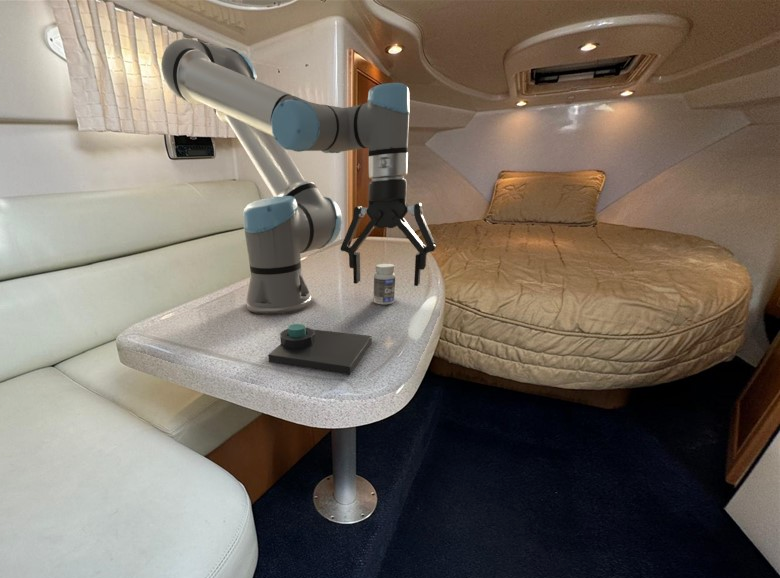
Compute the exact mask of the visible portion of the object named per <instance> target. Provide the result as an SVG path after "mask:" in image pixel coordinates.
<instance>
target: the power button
mask: <svg viewBox="0 0 780 578" xmlns="http://www.w3.org/2000/svg"><path fill="white" fill-rule="evenodd" d="M305 327H306V325H305V324H303V323H294V324H290V325H288V327H287V329H288V335H289V337H294V338H297V337H302V336H305V335H306V328H305Z"/></svg>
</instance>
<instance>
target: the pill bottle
mask: <svg viewBox="0 0 780 578" xmlns="http://www.w3.org/2000/svg"><path fill="white" fill-rule="evenodd" d="M394 272H395V265H394V264H393V263H379V264H376V266H375V274H374V276H373V303H375V304H377V305H383V306H385V305H391V304H393V303H395V297H396V295H395V293H396V292H395V291H396V274H395V273H394Z"/></svg>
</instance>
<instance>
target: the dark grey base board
mask: <svg viewBox="0 0 780 578" xmlns="http://www.w3.org/2000/svg"><path fill="white" fill-rule="evenodd" d="M305 328H306V335H305V336H302V337H297V338H294V337H289V335H288V328H286V329H284V330H282V331H280V332H279V340H280V344H279V345H277V346H276V347H275V348H274V349H273V350H272V351H270V353H268V354H267V356H268V363H273V364H278V365H286V366H292V367H298V368H304V369H311V370H317V371H322V372H329V373H335V374H342V375H348V376H350V375H351V374H353V371H354V370H355V368H356V367H357V365H358V364H359V363H360V362H361V360H362V358H363V357H364V355H365V354H366V352H367V351H368V349H369V348H370V346H371V345H372V343H373V336H372V335H366V334H359V333H358V334H356V333H351V332H350V333H349V332H341V331H331V330H321V329H314V328H310V327H306V326H305Z"/></svg>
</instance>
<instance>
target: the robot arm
mask: <svg viewBox="0 0 780 578" xmlns="http://www.w3.org/2000/svg"><path fill="white" fill-rule="evenodd" d="M160 67H161V73H162V77H163V80H164V82H165V84H166V86H167V87H168V89H169V91H170V92H171V93H172V94H174V96H176V97H177V98H179V99H180V100H183V101H185V102H187V103H189V104H192V105H195V106H200V105H206V106H208V107H210V108H212V110H213V112H214V113H215V115H216V116H217V118H218V120H220V122H222V123H224V124H229V127H230V128H231V129H232V131H233V133H234V134H235V136H236V137H237V139H238V141H239V142H240V144H241V145H242V147H243V149H244V151H245V152H246V154H247V156H248V157H249V159H250V161H251V163H252V164H253V166H254V167H255V169H256V170H257V172H258V174H259V175H260V177H261V179H262V181H263V182H264V183H265V186H266V187H267V189H268V190H269V192H270V194H271V195H272V197H269V198H268V197H265V198H262V199H258V200H255V201H252V202H250V203H248V204H247V205H245V207H244V209H243V212H242V214H243V229H244V235H245V242H246V248H247V255H248V263H249V270H250V277H249V284H248V288H247V294H246V308H247V310H248V311H249V312H251V313H254V314H257V315H266V316H276V315H285V314H286V315H287V314H292V313H295V312H299V311H302V310H304V309H306V308H309V306H310V305H311V304H312V295H311V291H310V288H309V287H308V284H307V281H306V279H305V276H304V273H303V272H302V261H301V259H302V258H301V254H304V253H307V252H311V251H315V250H320V249H323V248H325V247H327V246H329V245H332V243H334V242H335V241H336V240H337V238H338V236H339V235H340V234H341V233H340V232H341V230H342V223H343V216H342V215H343V214H342V211H341V208H340V206H339V204H338V203H337V202H336V201H335V200H334V199H332V198H330V197H327V196H323V195H322V193H321V192H320V190H319V188H318V187H317V186H316V183H314V182H313V181H307V180H305V178H304V177H303V175H302V173H301V172H300V170H299V167H297V165H296V163H295V162H294V160H293V158H292V157H291V154H290V153H289V151H293V152H298V153H300V152H320V151H321V152H322V153H324V154H339V153H343V152H347V151H353V150H355V151H356V150H362V149H368V178H369V179H371V181H369V183H368V206H367V207H366V206H362V205H357V206H355V207H354V208H353V215H352V219H351V221H350V225H349V226H348V229H347V231H346V234H345V237H344V239H343V241H342V243H341V246H340V251H341V252H345V253H347V254H348V266H349V268H350V269H353V271H352V274H353V284H359V282H360V281H361V252H357V251H358V250H359V249H360V247H361V246H362V244H363V243H364V242H365V241H366V239H367V238H368V237H369V235H370V234H371V233H372V231H374V229H375V228H378V229H385V228H387V229H394V228H396V227H397V229H399V230H400V231H401V232H402V233H403V235H404V236H405V237H406V238H407V239H408V241H409V242H410V243H411V244H412V246H413V247H414V249H416V250H417V253H416V254H415V261H414V265H415V266H414V279H413V280H414V281H413V286H414V287H419V285H420V284H421V271H422V270H423V271H424V270H425V268H426V266H427V256H428V253H431V252H434V251H436V248H437V244H436V241H435V239H434V237H433V235H432V232H431V230H430V227H429V225H428V223H427V221H426V218H425V216H424V214H423V204H422V202H417V203H415V204H410V205H408V203H407V191H408V190H407V185H408V180H406V178H405V176H407V175H408V161H409V151H408V150H409V147H408V146H409V129H410V128H409V127H410V115H411V111H410V89H409V87H408V85H406V84H405V83H402V82H386V83H381V84H378V85H375V86H374V87H370V89H369V90H368V93H367V94H368V95H367V99H366V100H367V102H365V103H362V104H359V105H353V106H348V107H341V106H334V105H327V104H321V103H315V102H313V101H312V102H311V101H308V100H305V99H303V98H300V97H298V96H295V95H292V94H291V93H288V92H286V91H283V90H281V89H278V88H276V87H273V86H271V85H268V84H266V83H264V82H262V81H258V80H257V79H258V76H257V72H256V70H255V66H254V65H253V63H252V61H251V60H250V59H249V58H248V57H247V56H246V55H245V54H243V53H242V52H239V51H238V50H235V49H233V48H230V47H222V46H219V45H214V44H211V43H208V42H203V41H199V40H197V39H193V38H179V39H175V40H173V41H172V42H170V43H169V44H168V45H167V46H166V48H165V49H164V51H163V54H162V56H161V66H160ZM408 212H409V213H410V215H411V216H413V217H414V219H415V222H416V224H417V227H418V228H419V231H420V233H421V235H422V237H423V240H424V242H425V243H423V241H422V240H421V239H420V238H419V236H418V235H417V234H416V233H415V231H414V230H413V229H412V228H411V226H410V225H409V223H408V222H407V220H406V219H405V216H406V215H407V213H408ZM366 215H367V216H368V218H369V219H370V221H369V222H368V223H367V225H366V226H365V228H364V229H363V230H362V232H361V233H360V234H359V236H358V237H357V238H356V239H355V241H354V242H353V240H354V237H355V235H356V233H357V230H358V228H359V225H360V224H361V221H362V218H364V217H365V216H366ZM352 242H353V243H352ZM351 244H352V245H351ZM425 244H426V245H425Z"/></svg>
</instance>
